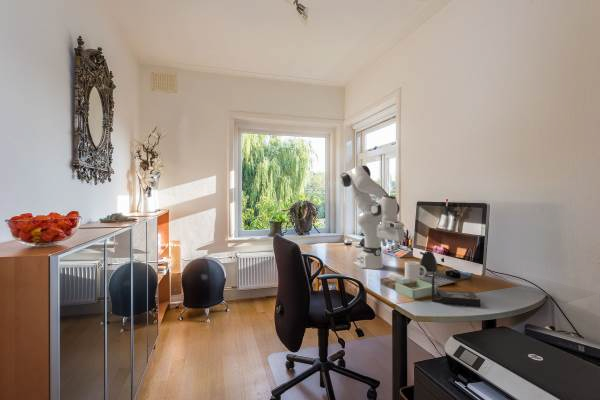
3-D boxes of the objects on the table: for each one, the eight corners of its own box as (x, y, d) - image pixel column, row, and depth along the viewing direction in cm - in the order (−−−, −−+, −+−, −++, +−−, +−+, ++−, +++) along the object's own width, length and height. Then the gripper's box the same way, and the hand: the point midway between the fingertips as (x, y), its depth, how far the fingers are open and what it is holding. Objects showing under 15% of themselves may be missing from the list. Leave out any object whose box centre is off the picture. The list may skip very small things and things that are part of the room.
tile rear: (389, 278, 164) (389, 274, 164) (395, 277, 166) (396, 273, 166) (395, 281, 159) (395, 276, 159) (402, 280, 161) (402, 275, 161)
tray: (395, 291, 152) (395, 282, 152) (417, 287, 158) (418, 279, 158) (413, 299, 140) (413, 290, 140) (437, 294, 147) (437, 285, 147)
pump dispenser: (418, 272, 188) (419, 249, 187) (436, 273, 184) (436, 250, 184) (419, 276, 178) (420, 252, 178) (438, 278, 175) (438, 253, 174)
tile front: (396, 281, 159) (396, 277, 159) (402, 280, 161) (403, 276, 161) (402, 284, 154) (402, 279, 154) (409, 282, 156) (409, 278, 156)
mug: (425, 278, 173) (425, 261, 173) (427, 283, 166) (427, 265, 165) (404, 277, 177) (404, 260, 177) (404, 281, 169) (405, 263, 169)
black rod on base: (470, 298, 143) (471, 264, 143) (481, 309, 130) (482, 271, 129) (427, 295, 148) (428, 261, 147) (433, 305, 134) (434, 269, 134)
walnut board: (380, 283, 164) (380, 278, 164) (399, 280, 170) (399, 275, 170) (396, 291, 152) (396, 285, 152) (416, 287, 158) (416, 282, 158)
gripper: (373, 222, 175) (374, 244, 175) (397, 225, 156) (397, 250, 157) (382, 221, 178) (382, 244, 178) (406, 224, 159) (406, 249, 159)
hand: (389, 247), depth 167 cm, fingers open, 8 cm apart
